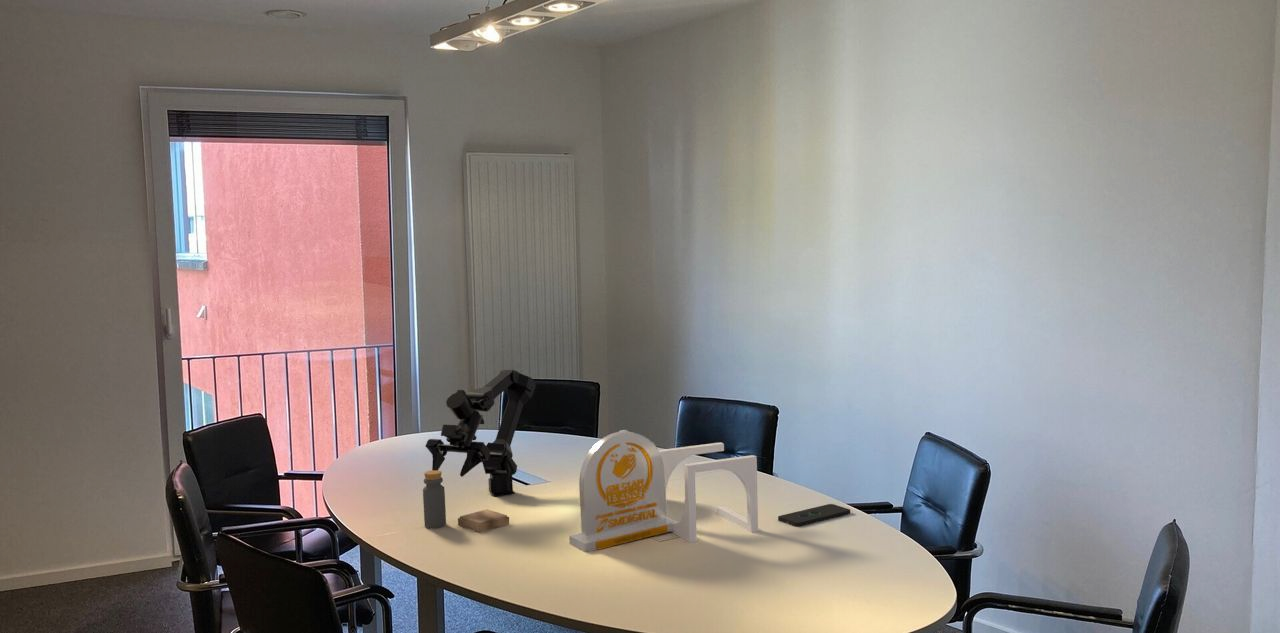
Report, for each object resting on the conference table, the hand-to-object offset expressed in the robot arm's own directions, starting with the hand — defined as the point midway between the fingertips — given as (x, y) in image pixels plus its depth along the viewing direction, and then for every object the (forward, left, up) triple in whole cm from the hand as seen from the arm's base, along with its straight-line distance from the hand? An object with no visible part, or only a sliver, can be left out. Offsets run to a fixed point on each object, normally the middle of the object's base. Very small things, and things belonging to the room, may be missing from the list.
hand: (447, 474), depth 280 cm
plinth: (-7, +11, -13) cm, 18 cm away
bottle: (+5, +5, -13) cm, 14 cm away
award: (-36, +41, -13) cm, 56 cm away
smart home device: (-89, +49, -13) cm, 103 cm away
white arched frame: (-59, +43, -13) cm, 74 cm away
